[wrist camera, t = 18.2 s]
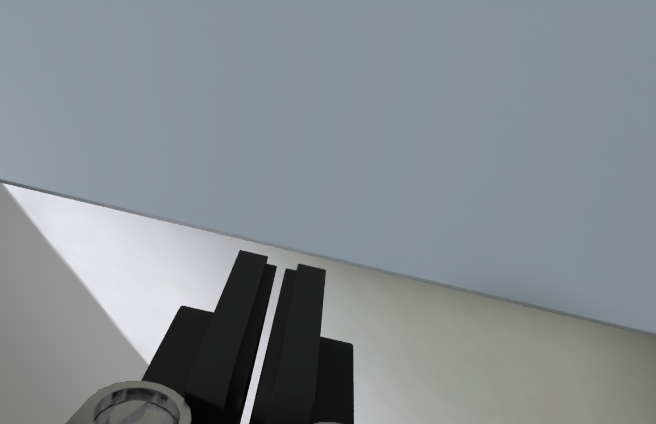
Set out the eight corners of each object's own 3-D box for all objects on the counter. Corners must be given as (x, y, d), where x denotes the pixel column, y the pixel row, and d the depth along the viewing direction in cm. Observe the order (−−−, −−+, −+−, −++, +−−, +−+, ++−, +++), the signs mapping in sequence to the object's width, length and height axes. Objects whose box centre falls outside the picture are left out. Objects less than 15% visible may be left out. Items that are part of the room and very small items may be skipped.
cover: (810, 18, 21) (836, 4, 20) (775, 364, 19) (802, 367, 18) (-82, -214, 20) (-101, -241, 19) (-217, 131, 18) (-246, 121, 17)
